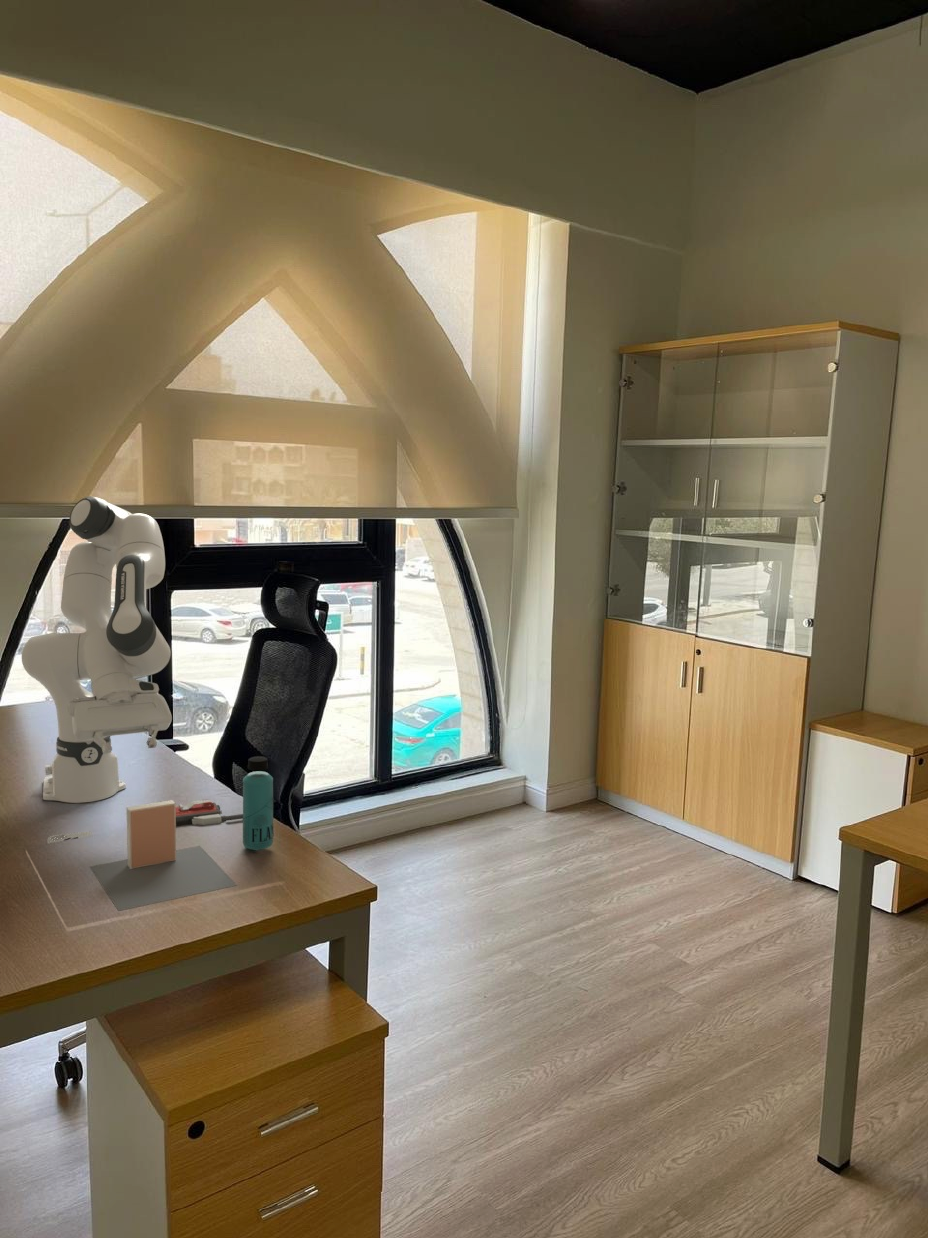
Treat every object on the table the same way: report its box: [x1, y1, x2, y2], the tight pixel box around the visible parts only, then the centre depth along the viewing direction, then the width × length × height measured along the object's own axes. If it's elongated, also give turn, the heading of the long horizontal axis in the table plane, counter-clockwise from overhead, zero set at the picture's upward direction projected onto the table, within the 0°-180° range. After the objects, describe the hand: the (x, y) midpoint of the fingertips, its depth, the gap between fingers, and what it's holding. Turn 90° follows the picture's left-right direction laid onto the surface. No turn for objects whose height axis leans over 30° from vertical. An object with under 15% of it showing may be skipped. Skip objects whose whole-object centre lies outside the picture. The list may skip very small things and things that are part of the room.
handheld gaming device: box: [46, 831, 93, 844], centre depth 201 cm, size 9×1×15 cm
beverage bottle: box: [242, 755, 275, 850], centre depth 201 cm, size 6×7×20 cm
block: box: [125, 799, 177, 869], centre depth 192 cm, size 2×9×12 cm, turn 124°
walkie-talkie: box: [175, 798, 243, 826], centre depth 218 cm, size 9×4×20 cm
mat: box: [89, 845, 238, 912], centre depth 187 cm, size 22×22×1 cm
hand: (130, 749), depth 204 cm, fingers open, 8 cm apart
